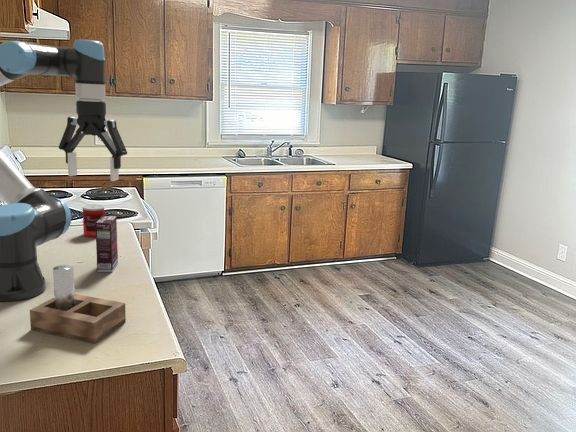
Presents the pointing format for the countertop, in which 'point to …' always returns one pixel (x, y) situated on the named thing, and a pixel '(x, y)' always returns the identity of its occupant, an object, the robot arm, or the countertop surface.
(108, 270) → the supplement box
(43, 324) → the socket block
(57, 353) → the countertop surface
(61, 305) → the pin
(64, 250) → the countertop surface
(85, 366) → the countertop surface
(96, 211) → the red supplement bottle
